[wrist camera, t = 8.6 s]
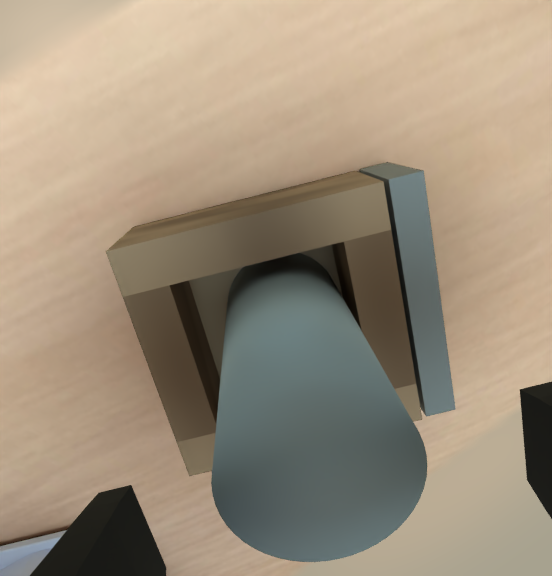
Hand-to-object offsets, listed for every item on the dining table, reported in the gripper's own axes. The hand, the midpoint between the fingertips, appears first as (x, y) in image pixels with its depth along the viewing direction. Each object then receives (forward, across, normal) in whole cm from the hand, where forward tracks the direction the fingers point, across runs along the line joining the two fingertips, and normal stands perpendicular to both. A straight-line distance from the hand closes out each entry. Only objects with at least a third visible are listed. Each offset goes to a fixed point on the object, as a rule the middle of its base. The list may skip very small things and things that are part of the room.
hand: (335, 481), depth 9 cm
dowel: (+9, 0, 0) cm, 9 cm away
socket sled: (+10, +1, 0) cm, 10 cm away
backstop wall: (+10, -4, 0) cm, 11 cm away
